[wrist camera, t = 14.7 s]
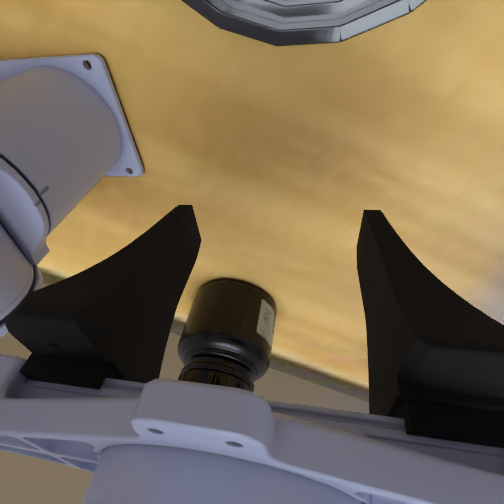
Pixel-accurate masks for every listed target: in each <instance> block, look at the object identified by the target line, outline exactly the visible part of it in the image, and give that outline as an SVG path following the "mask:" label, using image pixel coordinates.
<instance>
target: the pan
mask: <svg viewBox="0 0 504 504" xmlns="http://www.w3.org/2000/svg"><path fill="white" fill-rule="evenodd" d="M182 1H183V2H184V3H186V4H187V5H188V6H190V7H191V8H192V9H194V10H195V11H197V12H198V13H199V14H201V15H202V16H203V17H205V18H206V19H207V20H209V21H210V22H211V23H213V24H214V25H215V26H217V27H219V28H220V29H224V30H227V31H230V32H233V33H236V34H239V35H243V36H246V37H249V38H252V39H255V40H259V41H262V42H265V43H268V44H271V45H275V46H277V45H278V46H291V45H307V44H322V43H338V42H343V41H345V40H347V39H350V38H352V37H355V36H357V35H359V34H362V33H364V32H366V31H369V30H371V29H374V28H376V27H378V26H381V25H383V24H386V23H388V22H390V21H393V20H395V19H397V18H400V17H402V16H405V15H407V14H409V13H410V12H412V11H414V10H415V9H416V8H418V7H419V6H420V5H421V4H423V3H424V2H425V1H427V0H182Z"/></svg>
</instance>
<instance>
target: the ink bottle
mask: <svg viewBox="0 0 504 504" xmlns="http://www.w3.org/2000/svg"><path fill="white" fill-rule="evenodd" d="M275 318H276V308H275V305H274V303H273V301H272V300H271V299H270V297H269V296H267V295H266V294H265V293H264V292H262V291H261V290H259V289H257V288H255V287H253V286H250V285H248V284H245V283H241V282H237V281H230V280H219V281H213V282H210V283H208V284H206V285H205V286H203V287H202V288H201V289H200V290H199V291H198V293H197V294H196V296H195V299H194V302H193V304H192V307H191V310H190V313H189V315H188V318H187V321H186V324H185V326H184V329H183V332H182V335H181V337H180V341H179V344H178V354H179V357H180V359H181V361H182V362H183V364H184V368H183V369H182V371H181V373H180V375H179V378H178V380H181V381H188V382H196V383H203V384H211V385H219V386H226V387H234V388H239V389H243V390H247V391H252V392H253V391H254V385H253V383H254V382H255V381H256V380H258V379H259V378H261V377H262V376H263V375H264V374H265V373H266V371H267V369H268V367H269V363H270V356H271V349H272V341H273V334H274V326H275Z"/></svg>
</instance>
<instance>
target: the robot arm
mask: <svg viewBox="0 0 504 504" xmlns="http://www.w3.org/2000/svg"><path fill="white" fill-rule="evenodd" d="M86 60H87V61H89V62H90V63H91V66H92V68H90V67H89V66H88V65H87V62H86ZM129 168H130V169H132V171H130V170H129ZM143 172H144V169H143V166H142V163H141V160H140V157H139V155H138V152H137V149H136V146H135V144H134V141H133V138H132V135H131V132H130V130H129V127H128V124H127V121H126V119H125V116H124V113H123V110H122V107H121V105H120V102H119V99H118V96H117V94H116V91H115V88H114V85H113V82H112V80H111V77H110V74H109V71H108V69H107V66H106V63H105V61H104V59H103V58H102V57H101V56H100V55H98V54H95V53H93V54H78V55H63V56H48V57H33V58H18V59H3V60H0V337H2V336H3V335H4V334H6V333H8V332H10V333H11V334H12V335H13V336H14V337H15V338H16V339H17V340H18V341H19V342H20V343H22V344H23V345H24V346H25V347H26V348H27V349H29V350H30V351H31V352H32V354H31V355H30V357H29V358H28V360H26V359H23V358H20V357H17V356H9V355H2V354H0V450H2V451H7V452H12V453H17V454H21V455H25V456H30V457H34V458H38V459H42V460H46V461H51V462H55V463H59V464H63V465H67V466H71V467H75V468H79V469H83V470H87V471H91V472H94V475H93V477H92V479H91V481H90V484H89V486H88V488H87V490H86V493H85V495H84V497H83V500H82V502H81V504H504V325H502V324H501V323H499V322H497V321H496V320H494V319H492V318H491V317H489V316H487V315H486V314H484V313H483V312H481V311H480V310H478V309H477V308H475V307H474V306H472V305H471V304H470V303H468V302H467V301H465V300H464V299H463V298H461V297H460V296H459V295H457V294H456V293H455V292H454V291H452V290H451V289H450V288H448V287H447V286H446V285H445V284H444V283H442V282H441V281H440V280H439V279H438V278H437V277H436V276H434V275H433V274H432V273H431V272H430V271H429V270H428V269H427V268H426V267H425V266H424V265H423V264H422V263H421V262H420V261H419V260H418V259H417V257H416V256H415V255H414V254H413V253H412V252H411V251H410V249H409V248H408V247H407V246H406V245H405V243H404V242H403V241H402V240H401V238H400V237H399V236H398V234H397V233H396V232H395V230H394V229H393V227H392V226H391V225H390V223H389V222H388V220H387V219H386V217H385V216H384V214H383V213H382V212H381V211H380V210H364V213H363V218H362V223H361V228H360V233H359V238H358V243H357V270H358V276H359V282H360V288H361V294H362V300H363V306H364V311H365V318H366V329H367V347H368V371H369V412H370V413H369V414H366V413H358V412H351V411H344V410H336V409H329V408H322V407H314V406H307V405H300V404H293V403H285V402H278V401H271V400H265V399H264V398H263V397H262V396H260V395H258V394H256V393H254V392H252V391H247V390H243V389H239V388H234V387H226V386H219V385H211V384H203V383H196V382H188V381H181V380H172V379H159V375H160V370H161V365H162V360H163V357H164V352H165V347H166V344H167V340H168V336H169V333H170V329H171V325H172V322H173V318H174V315H175V311H176V308H177V305H178V303H179V300H180V297H181V295H182V293H183V290H184V288H185V286H186V283H187V281H188V279H189V276H190V274H191V271H192V269H193V267H194V264H195V262H196V259H197V255H198V252H199V248H200V244H201V237H200V233H199V229H198V226H197V222H196V218H195V214H194V211H193V207H192V205H178V206H177V207H175V208H174V209H173V210H172V211H170V212H169V213H168V214H167V215H166V216H164V217H163V218H162V219H161V220H160V221H158V222H157V223H156V224H155V225H153V226H152V227H151V228H150V229H149V230H147V231H146V232H145V233H143V234H142V235H141V236H139V237H138V238H137V239H135V240H134V241H133V242H131V243H130V244H129V245H127V246H126V247H124V248H123V249H121V250H120V251H118V252H117V253H115V254H113V255H112V256H110V257H109V258H107V259H105V260H103V261H101V262H99V263H98V264H96V265H94V266H92V267H90V268H88V269H86V270H84V271H82V272H80V273H78V274H76V275H74V276H71V277H69V278H67V279H64V280H62V281H59V282H57V283H54V284H52V285H49V286H46V287H44V288H42V287H43V277H42V274H41V271H40V270H39V268H38V267H37V266H36V265H37V264H38V263H39V262H40V261H41V260H42V259H43V258H44V256H45V255H46V254H47V253H48V252H49V249H48V247H47V245H46V237H47V236H48V235H49V234H50V233H51V232H52V231H53V230H54V229H55V228H56V227H57V226H58V224H59V223H60V222H61V221H62V220H63V219H64V218H65V217H66V216H67V215H68V214H69V213H70V212H71V211H72V210H73V208H74V207H75V206H76V205H77V204H78V203H79V202H80V201H81V200H82V199H83V198H84V197H85V196H86V195H87V193H88V192H89V191H90V190H91V189H92V188H93V187H94V186H95V185H96V184H97V183H98V182H99V181H100V180H101V179H102V177H103V176H141V175H142V174H143Z"/></svg>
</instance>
